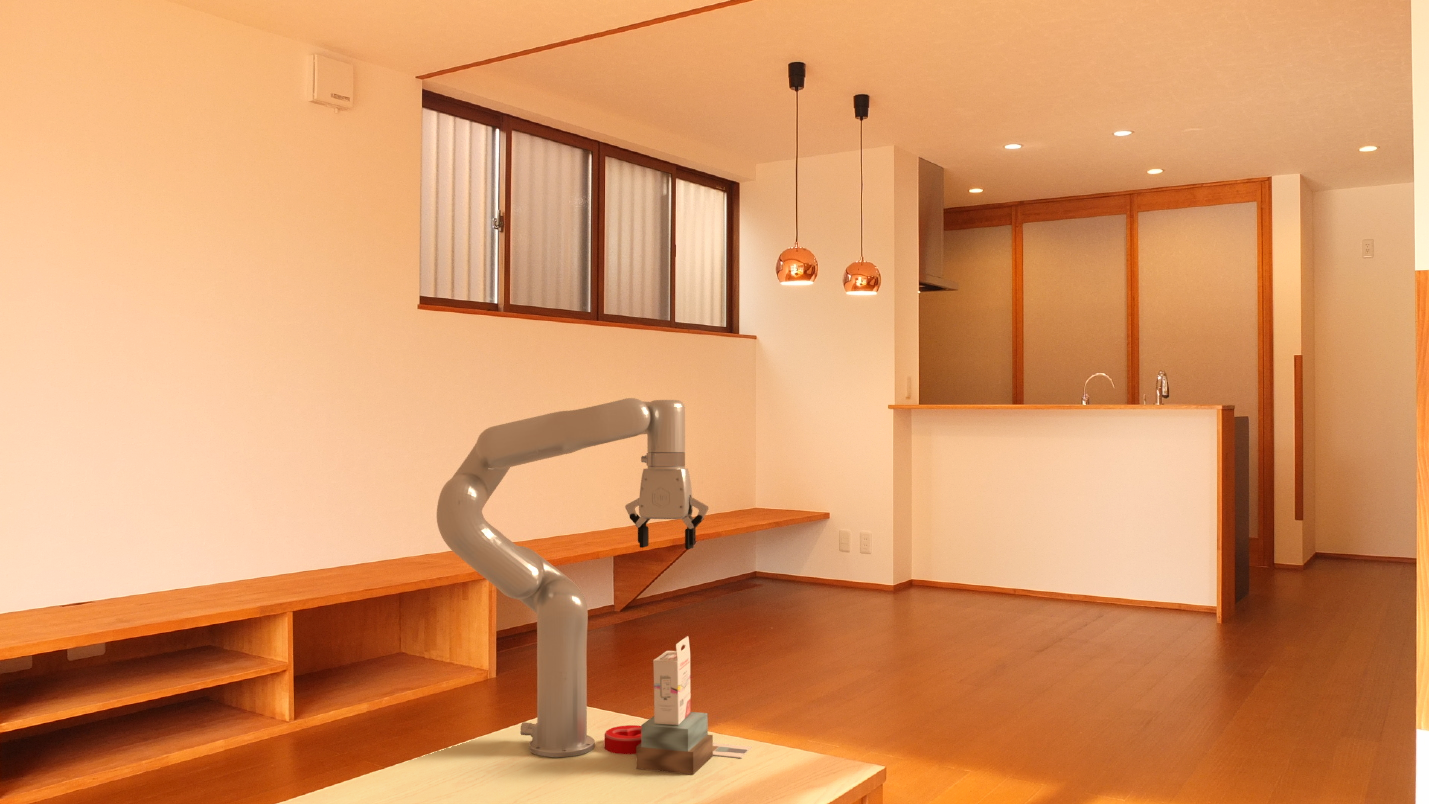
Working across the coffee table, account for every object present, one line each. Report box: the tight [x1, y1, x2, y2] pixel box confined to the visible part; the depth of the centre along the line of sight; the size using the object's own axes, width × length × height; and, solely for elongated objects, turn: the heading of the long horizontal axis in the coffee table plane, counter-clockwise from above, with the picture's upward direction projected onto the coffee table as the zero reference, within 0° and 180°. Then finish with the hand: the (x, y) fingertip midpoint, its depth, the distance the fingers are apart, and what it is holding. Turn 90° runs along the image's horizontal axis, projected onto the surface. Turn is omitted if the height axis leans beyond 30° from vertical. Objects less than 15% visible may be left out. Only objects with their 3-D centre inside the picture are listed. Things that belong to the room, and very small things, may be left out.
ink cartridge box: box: [652, 635, 692, 725], centre depth 193 cm, size 9×5×15 cm, turn 166°
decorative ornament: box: [604, 724, 641, 755], centre depth 202 cm, size 10×10×3 cm
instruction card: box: [713, 742, 752, 759], centre depth 199 cm, size 10×7×1 cm
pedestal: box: [635, 711, 714, 776], centre depth 192 cm, size 11×11×8 cm
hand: (666, 547), depth 206 cm, fingers open, 9 cm apart
